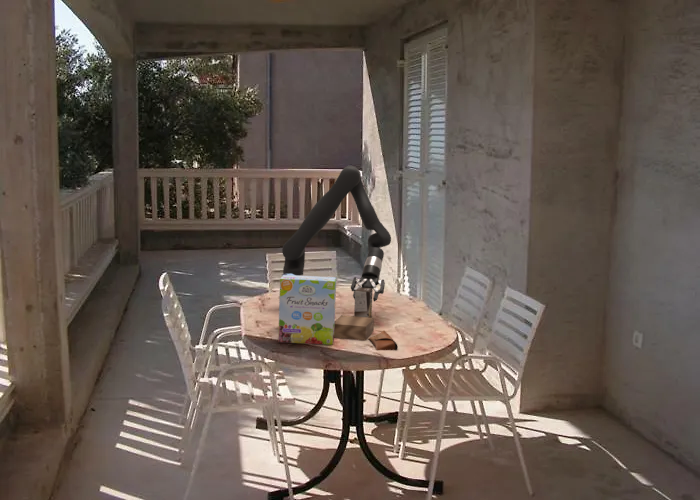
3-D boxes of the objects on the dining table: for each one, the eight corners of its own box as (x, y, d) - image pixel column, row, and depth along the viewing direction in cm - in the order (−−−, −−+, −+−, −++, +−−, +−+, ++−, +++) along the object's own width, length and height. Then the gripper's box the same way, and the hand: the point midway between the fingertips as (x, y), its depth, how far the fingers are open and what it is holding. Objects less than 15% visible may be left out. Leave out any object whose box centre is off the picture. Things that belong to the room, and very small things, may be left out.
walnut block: (331, 338, 319) (331, 323, 318) (341, 329, 334) (341, 315, 334) (365, 341, 316) (366, 326, 315) (373, 332, 331) (374, 318, 330)
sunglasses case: (365, 338, 318) (374, 324, 318) (380, 346, 320) (388, 332, 320) (376, 350, 301) (385, 335, 301) (391, 359, 303) (400, 344, 303)
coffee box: (368, 329, 334) (369, 291, 332) (353, 328, 336) (354, 290, 333) (372, 324, 343) (373, 287, 341) (357, 323, 344) (358, 286, 342)
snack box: (277, 343, 307) (278, 278, 304) (280, 337, 316) (281, 274, 312) (333, 345, 306) (335, 280, 303) (334, 340, 315) (336, 276, 311)
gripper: (355, 262, 347) (347, 293, 338) (386, 265, 343) (379, 296, 334) (358, 272, 353) (350, 303, 344) (389, 275, 349) (382, 305, 340)
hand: (364, 299), depth 339 cm, fingers open, 8 cm apart
